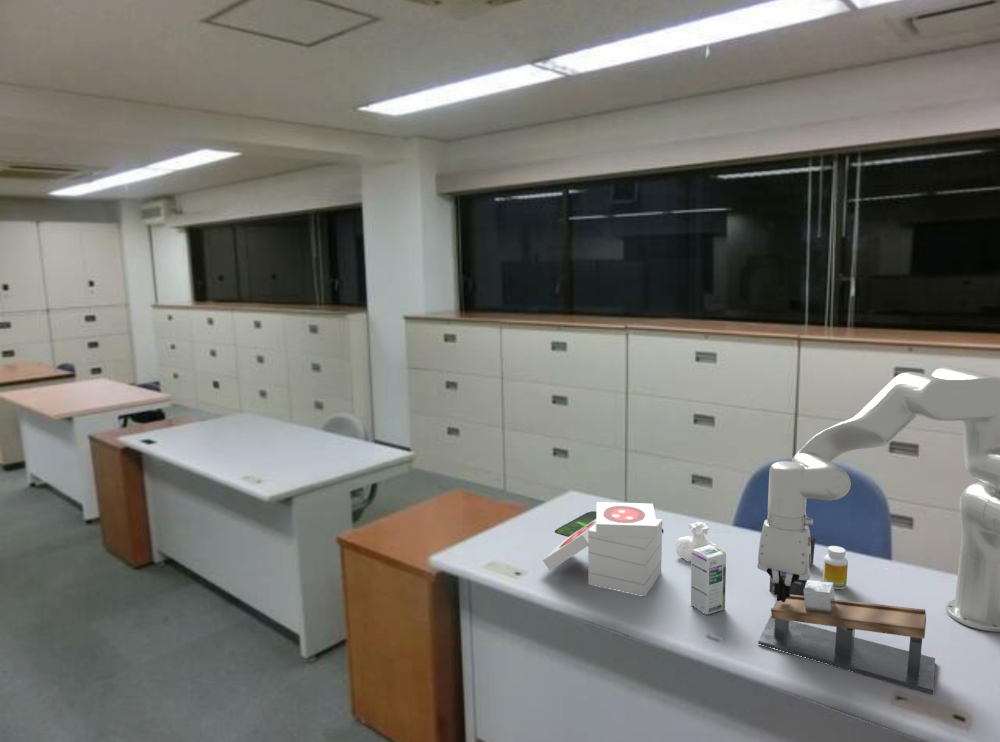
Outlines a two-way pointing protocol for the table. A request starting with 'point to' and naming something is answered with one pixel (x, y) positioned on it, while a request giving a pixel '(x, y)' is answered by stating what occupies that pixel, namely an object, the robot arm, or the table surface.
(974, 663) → the table surface
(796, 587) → the mini dv tape
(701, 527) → the white lumpy figure
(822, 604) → the steel cube
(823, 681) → the table surface
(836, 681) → the table surface
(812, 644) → the pivot stand
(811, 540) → the ink cartridge
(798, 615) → the beam
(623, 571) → the pizza boxes
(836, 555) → the supplement bottle
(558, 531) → the mouse mat
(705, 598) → the syrup box
